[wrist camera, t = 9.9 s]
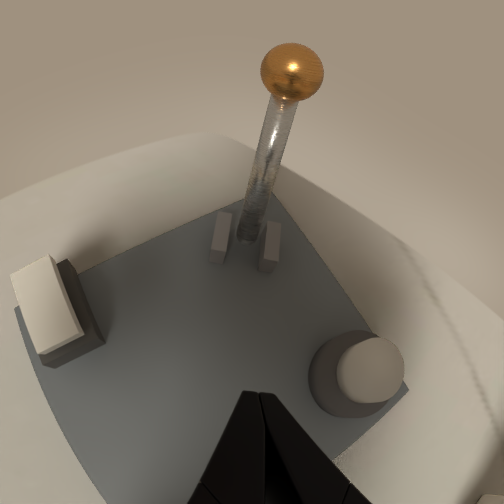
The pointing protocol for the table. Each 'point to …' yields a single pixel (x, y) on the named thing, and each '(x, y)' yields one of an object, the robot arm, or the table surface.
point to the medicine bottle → (491, 499)
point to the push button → (370, 371)
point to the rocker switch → (45, 305)
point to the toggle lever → (277, 126)
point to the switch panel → (199, 352)
